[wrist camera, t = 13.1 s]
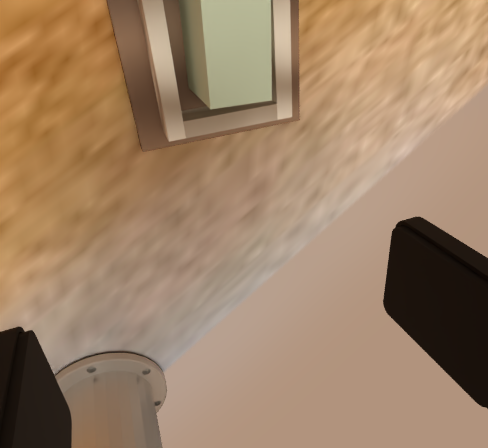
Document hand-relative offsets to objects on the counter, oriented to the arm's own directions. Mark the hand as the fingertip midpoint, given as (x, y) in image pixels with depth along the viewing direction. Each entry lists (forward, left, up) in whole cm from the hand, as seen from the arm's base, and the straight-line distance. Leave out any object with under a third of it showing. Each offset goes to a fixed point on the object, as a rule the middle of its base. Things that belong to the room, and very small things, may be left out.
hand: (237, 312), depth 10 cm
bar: (+6, -6, -22) cm, 24 cm away
